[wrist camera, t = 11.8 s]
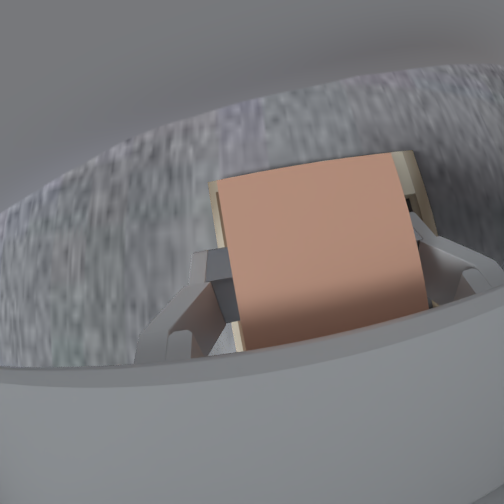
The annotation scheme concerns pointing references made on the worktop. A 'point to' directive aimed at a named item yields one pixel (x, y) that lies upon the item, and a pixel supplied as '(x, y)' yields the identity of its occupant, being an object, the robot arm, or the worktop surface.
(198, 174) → the worktop surface
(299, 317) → the terracotta block
